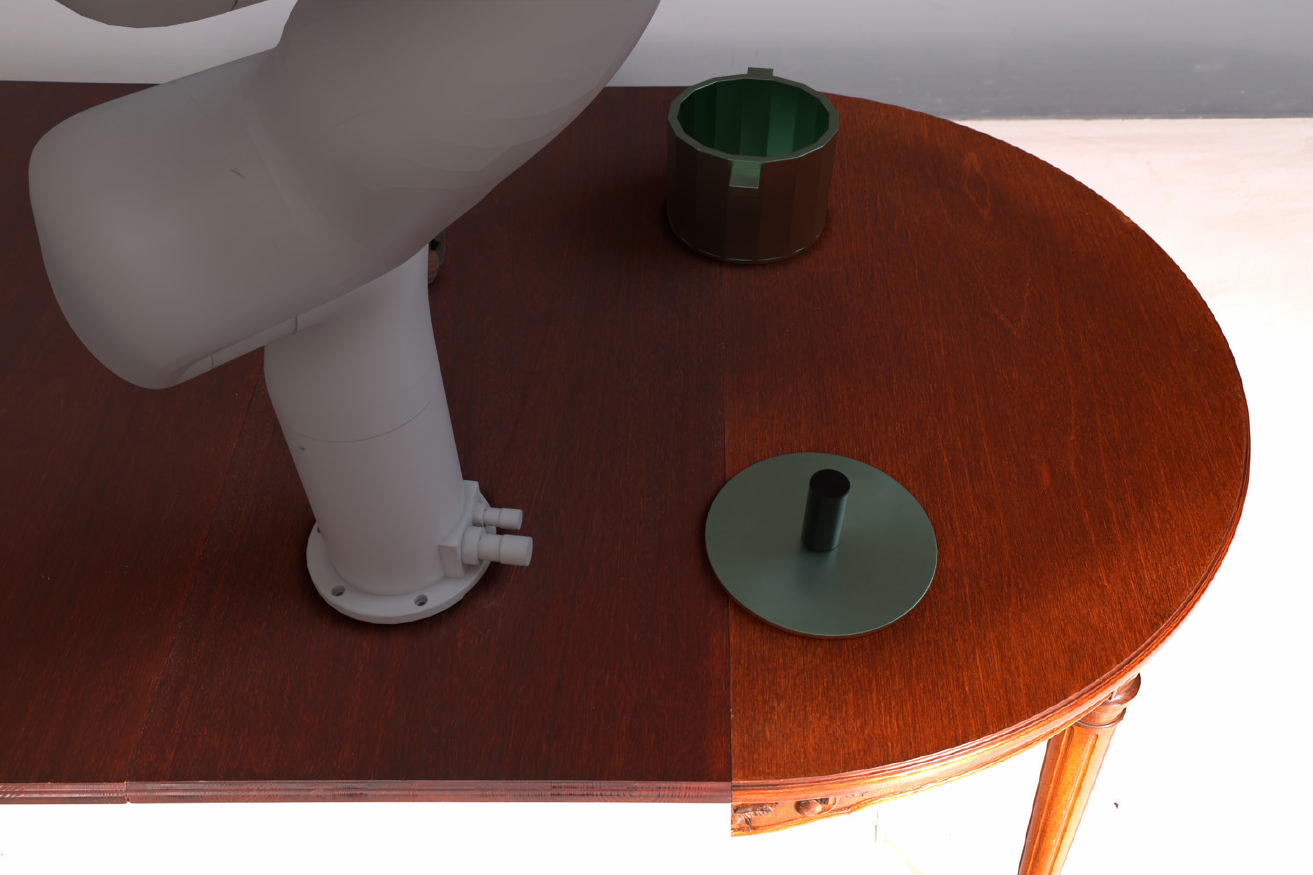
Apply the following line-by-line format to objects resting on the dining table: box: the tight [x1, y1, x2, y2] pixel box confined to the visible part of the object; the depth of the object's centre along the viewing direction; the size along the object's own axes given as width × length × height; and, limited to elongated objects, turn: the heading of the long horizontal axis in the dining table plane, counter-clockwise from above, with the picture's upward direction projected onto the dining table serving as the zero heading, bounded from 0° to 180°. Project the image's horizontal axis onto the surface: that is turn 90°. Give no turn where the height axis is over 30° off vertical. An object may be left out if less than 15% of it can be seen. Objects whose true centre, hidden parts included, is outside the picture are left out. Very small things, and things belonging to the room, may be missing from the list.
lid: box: [704, 451, 938, 641], centre depth 69 cm, size 16×16×7 cm
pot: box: [666, 66, 840, 266], centre depth 94 cm, size 15×20×10 cm
